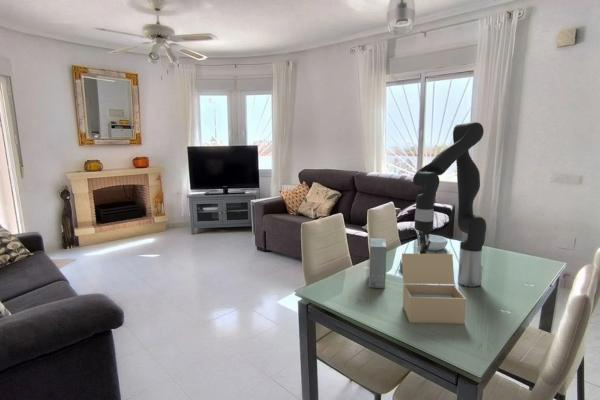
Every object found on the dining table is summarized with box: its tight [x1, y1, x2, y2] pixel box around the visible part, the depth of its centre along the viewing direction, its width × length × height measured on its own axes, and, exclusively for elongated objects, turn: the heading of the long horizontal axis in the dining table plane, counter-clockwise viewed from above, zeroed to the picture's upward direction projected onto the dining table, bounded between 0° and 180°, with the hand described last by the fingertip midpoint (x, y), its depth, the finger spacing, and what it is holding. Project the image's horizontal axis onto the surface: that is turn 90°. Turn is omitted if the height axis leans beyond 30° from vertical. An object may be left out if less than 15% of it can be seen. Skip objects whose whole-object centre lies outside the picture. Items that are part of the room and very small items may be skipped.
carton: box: [402, 283, 467, 325], centre depth 132 cm, size 20×12×10 cm, turn 85°
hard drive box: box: [368, 237, 387, 289], centre depth 164 cm, size 16×8×20 cm, turn 168°
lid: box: [401, 253, 455, 285], centre depth 139 cm, size 20×12×1 cm
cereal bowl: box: [427, 234, 448, 252], centre depth 215 cm, size 17×17×7 cm
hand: (422, 258), depth 147 cm, fingers closed
